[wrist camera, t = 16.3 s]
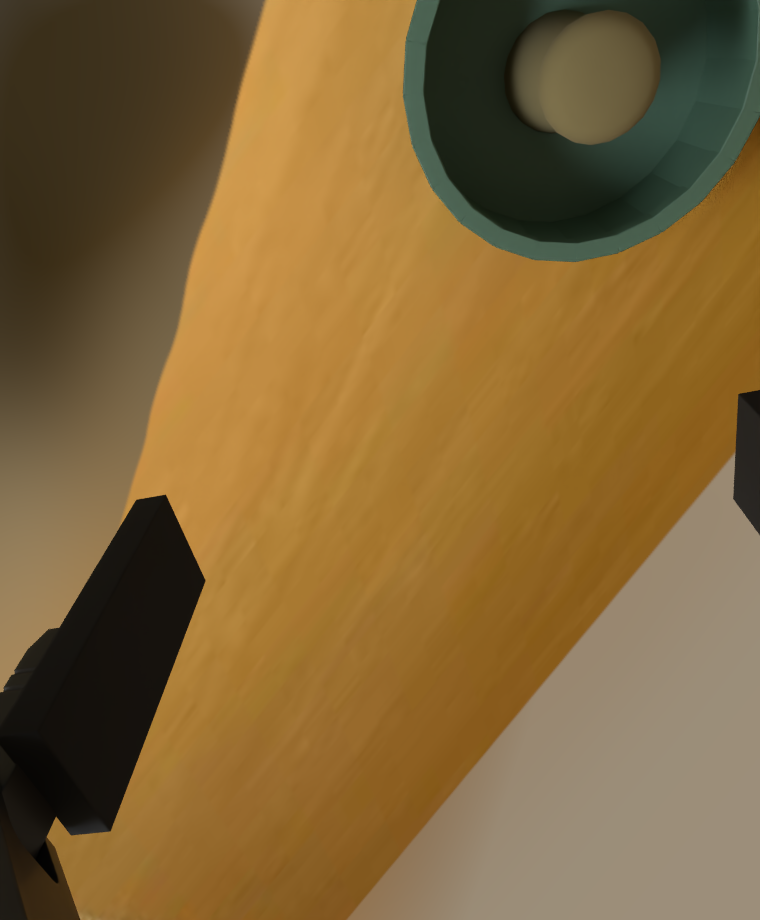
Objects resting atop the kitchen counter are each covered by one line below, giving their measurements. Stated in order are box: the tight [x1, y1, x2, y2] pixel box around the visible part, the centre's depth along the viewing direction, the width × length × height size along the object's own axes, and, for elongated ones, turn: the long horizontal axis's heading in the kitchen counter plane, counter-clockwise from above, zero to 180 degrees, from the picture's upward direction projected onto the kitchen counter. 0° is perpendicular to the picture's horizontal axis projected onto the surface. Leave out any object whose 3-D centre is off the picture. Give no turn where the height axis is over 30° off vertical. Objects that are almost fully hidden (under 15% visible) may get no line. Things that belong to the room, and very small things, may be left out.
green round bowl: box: [403, 0, 760, 262], centre depth 35 cm, size 17×17×8 cm
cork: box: [504, 9, 661, 145], centre depth 33 cm, size 6×6×11 cm
